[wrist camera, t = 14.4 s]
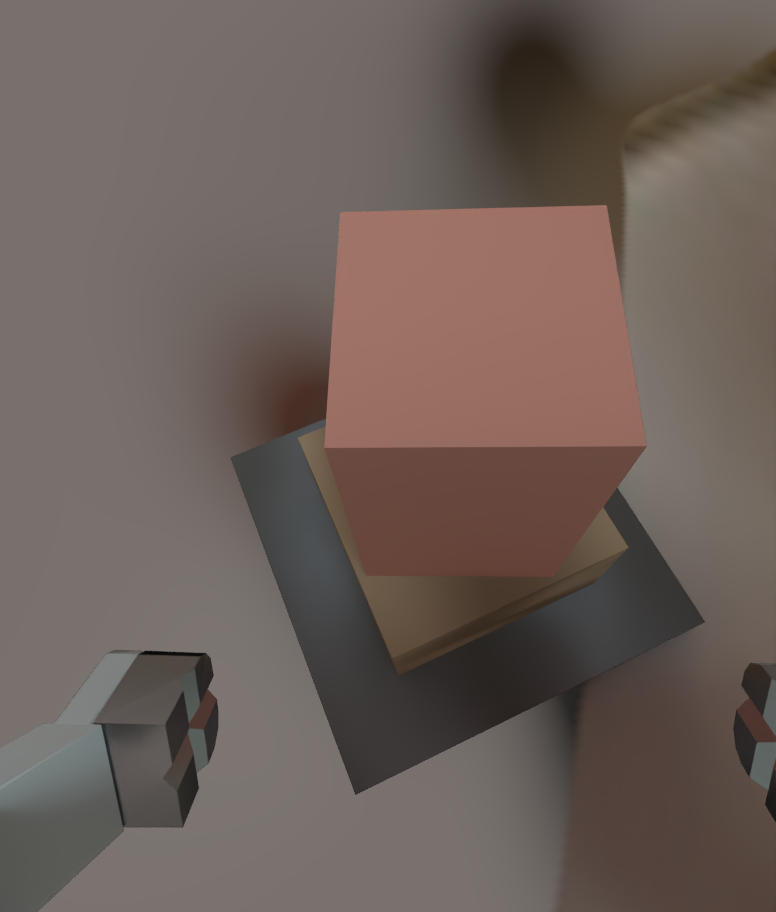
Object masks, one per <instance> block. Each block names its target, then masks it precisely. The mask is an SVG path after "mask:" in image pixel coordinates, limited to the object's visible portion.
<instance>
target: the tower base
mask: <svg viewBox="0 0 776 912" xmlns="http://www.w3.org/2000/svg"><path fill="white" fill-rule="evenodd" d="M325 429H326V419H323V420H321V421H318V422H316V423H313V424H311V425H308V426H306V427H304V428H301V429H299V430H296V431H294V432H292V433H289V434H287V435H284V436H282V437H280V438H277V439H274V440H272V441H270V442H267V443H265V444H262V445H260V446H258V447H255V448H252V449H250V450H248V451H246V452H243V453H241V454H238V455H236V456H233V457H231V460H232V463H233V465H234V468H235V471H236V473H237V476H238V479H239V482H240V484H241V487H242V490H243V493H244V495H245V498H246V500H247V503H248V506H249V509H250V512H251V514H252V517H253V519H254V522H255V525H256V528H257V530H258V533H259V536H260V538H261V541H262V544H263V547H264V549H265V552H266V555H267V557H268V560H269V563H270V565H271V568H272V571H273V574H274V576H275V579H276V582H277V584H278V587H279V590H280V592H281V595H282V598H283V600H284V603H285V605H286V608H287V611H288V614H289V617H290V619H291V622H292V625H293V627H294V630H295V632H296V635H297V638H298V641H299V644H300V646H301V649H302V652H303V654H304V657H305V660H306V662H307V665H308V668H309V671H310V673H311V676H312V679H313V681H314V684H315V687H316V689H317V692H318V695H319V697H320V700H321V703H322V705H323V708H324V711H325V713H326V716H327V719H328V721H329V724H330V727H331V730H332V733H333V735H334V738H335V741H336V743H337V746H338V749H339V751H340V754H341V757H342V759H343V762H344V764H345V767H346V770H347V773H348V775H349V778H350V781H351V783H352V786H353V789H354V792H355V794H358V793H360V792H362V791H364V790H366V789H368V788H370V787H372V786H374V785H376V784H378V783H380V782H382V781H384V780H386V779H388V778H390V777H392V776H394V775H397V774H398V773H401V772H402V771H405V770H406V769H409V768H411V767H413V766H414V765H417V764H419V763H421V762H423V761H425V760H427V759H429V758H431V757H433V756H435V755H437V754H439V753H441V752H443V751H445V750H447V749H449V748H451V747H453V746H455V745H457V744H459V743H461V742H463V741H465V740H467V739H469V738H471V737H473V736H475V735H477V734H479V733H482V732H484V731H486V730H488V729H490V728H492V727H494V726H496V725H498V724H500V723H502V722H504V721H506V720H508V719H510V718H512V717H514V716H516V715H518V714H520V713H522V712H524V711H526V710H528V709H530V708H532V707H534V706H536V705H538V704H540V703H542V702H544V701H546V700H548V699H550V698H552V697H554V696H556V695H558V694H560V693H562V692H564V691H566V690H569V689H570V688H573V687H575V686H576V685H579V684H581V683H583V682H585V681H587V680H589V679H591V678H593V677H595V676H597V675H599V674H601V673H603V672H605V671H607V670H609V669H611V668H613V667H615V666H617V665H619V664H621V663H623V662H625V661H627V660H629V659H631V658H633V657H635V656H637V655H639V654H641V653H643V652H646V651H648V650H650V649H652V648H654V647H656V646H658V645H660V644H662V643H664V642H666V641H668V640H670V639H672V638H674V637H676V636H678V635H680V634H682V633H684V632H686V631H688V630H690V629H692V628H694V627H696V626H698V625H700V624H702V623H704V622H705V621H704V620H703V618H702V617H701V615H700V614H699V612H698V611H697V609H696V607H695V606H694V604H693V603H692V601H691V600H690V598H689V597H688V595H687V594H686V592H685V591H684V589H683V588H682V586H681V585H680V583H679V581H678V580H677V578H676V577H675V575H674V574H673V572H672V571H671V569H670V568H669V566H668V565H667V563H666V562H665V560H664V559H663V557H662V555H661V554H660V552H659V551H658V549H657V548H656V546H655V545H654V543H653V542H652V540H651V539H650V537H649V536H648V534H647V533H646V531H645V529H644V528H643V526H642V525H641V523H640V522H639V520H638V519H637V517H636V516H635V514H634V513H633V511H632V510H631V508H630V507H629V505H628V503H627V502H626V500H625V499H624V497H623V496H622V494H621V493H620V491H619V490H618V488H616V490H615V491H614V493H613V494H612V495H611V497H610V498H609V500H608V501H607V502H606V504H605V505H604V507H603V508H602V509H601V511H600V512H599V514H598V515H597V516H596V518H595V519H594V521H593V522H592V523H591V525H590V526H589V528H588V529H587V530H586V532H585V533H584V535H583V536H582V537H581V539H580V540H579V542H578V543H577V544H576V546H575V547H574V549H573V550H572V551H571V553H570V554H569V556H568V557H567V558H566V560H565V561H564V563H563V564H562V565H561V567H560V568H559V570H558V571H557V572H556V574H555V575H554V577H496V576H366V573H365V570H364V567H363V564H362V561H361V558H360V555H359V552H358V549H357V545H356V542H355V539H354V536H353V533H352V530H351V527H350V524H349V521H348V518H347V515H346V512H345V509H344V506H343V503H342V500H341V497H340V494H339V491H338V488H337V485H336V482H335V479H334V476H333V473H332V470H331V467H330V464H329V461H328V458H327V455H326V452H325V449H324V443H325Z"/></svg>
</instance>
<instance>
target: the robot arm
mask: <svg viewBox="0 0 776 912" xmlns="http://www.w3.org/2000/svg"><path fill="white" fill-rule="evenodd" d="M212 678H213V670H212V664H211V658H210V657H209V656H208V655H207V654H206V653H188V652H164V651H144V652H143V651H127V650H114V651H111V652H109V653H107V654H106V655H105V656H104V657H103V658H102V660H101V661H100V662H99V664H98V665H97V666H96V668H95V669H94V671H93V672H92V673H91V675H90V676H89V677H88V679H87V680H86V681H85V683H84V684H83V685H82V687H81V688H80V689H79V691H78V692H77V693H76V695H75V696H74V697H73V699H72V700H71V701H70V703H69V704H68V706H67V707H66V708H65V709H64V711H63V712H62V713H61V715H60V716H59V717H58V719H57V720H56V722H55V723H44V724H42V725H40V726H39V727H37V728H35V729H34V730H32V731H30V732H28V733H26V734H25V735H23V736H21V737H19V738H18V739H16V740H14V741H13V742H11V743H9V744H7V745H5V746H4V747H2V748H0V912H38V911H39V910H40V909H41V908H42V907H43V906H44V905H45V904H46V903H47V902H48V901H50V900H51V899H52V898H53V897H54V896H55V895H56V894H57V893H58V892H59V891H60V890H61V889H62V888H63V887H64V886H66V885H67V884H68V883H69V882H70V881H71V880H72V879H73V878H74V877H75V876H76V875H77V874H78V873H79V872H80V871H81V870H83V869H84V868H85V867H86V866H87V865H88V864H89V863H90V862H91V861H92V860H93V859H94V858H95V857H96V856H97V855H99V854H100V853H101V852H102V851H103V850H104V849H105V848H106V847H107V846H108V845H109V844H110V843H111V842H112V841H113V840H114V839H116V838H117V837H118V836H119V835H120V834H121V833H122V832H123V830H124V829H123V827H183V825H184V823H185V821H186V818H187V816H188V813H189V811H190V808H191V806H192V803H193V801H194V799H195V796H196V794H197V791H198V788H199V786H198V780H197V772H198V771H199V770H201V769H202V768H203V767H205V766H206V765H207V764H208V763H209V761H210V758H211V755H212V753H213V750H214V747H215V742H216V736H217V731H218V705H217V699H216V698H215V697H214V696H213V695H212V694H211V692H210V691H209V690H207V689H208V687H209V684H210V682H211V680H212ZM742 687H743V688H744V690H745V691H746V693H747V694H748V696H749V697H750V698H749V699H748V700H747V701H746V702H745V703H743V704H742V705H741V706H740V707H739V708H738V709H737V710H736V716H735V722H734V737H735V745H736V750H737V753H738V755H739V758H740V761H741V764H742V765H743V767H744V769H745V771H746V772H747V774H748V776H749V778H751V779H752V780H753V781H755V782H756V783H758V784H759V785H760V786H762V787H763V788H765V789H766V790H768V794H767V798H766V803H765V805H766V807H767V808H768V810H769V812H770V813H771V815H772V817H773V818H774V820H775V822H776V663H750V664H749V666H748V667H747V669H746V670H745V672H744V677H743V681H742Z"/></svg>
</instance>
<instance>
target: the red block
mask: <svg viewBox="0 0 776 912" xmlns="http://www.w3.org/2000/svg"><path fill="white" fill-rule="evenodd" d="M333 313H334V314H333V327H332V342H331V356H330V371H329V386H328V400H327V414H326V415H327V416H326V429H325V443H324V449H325V452H326V455H327V458H328V461H329V464H330V467H331V470H332V473H333V476H334V479H335V482H336V485H337V488H338V491H339V494H340V497H341V500H342V503H343V506H344V509H345V512H346V515H347V518H348V521H349V524H350V527H351V530H352V533H353V536H354V539H355V542H356V545H357V549H358V552H359V555H360V558H361V561H362V564H363V567H364V570H365V573H366V576H496V577H554V575H555V574H556V572H557V571H558V570H559V568H560V567H561V565H562V564H563V563H564V561H565V560H566V558H567V557H568V556H569V554H570V553H571V551H572V550H573V549H574V547H575V546H576V544H577V543H578V542H579V540H580V539H581V537H582V536H583V535H584V533H585V532H586V530H587V529H588V528H589V526H590V525H591V523H592V522H593V521H594V519H595V518H596V516H597V515H598V514H599V512H600V511H601V509H602V508H603V507H604V505H605V504H606V502H607V501H608V500H609V498H610V497H611V495H612V494H613V493H614V491H615V490H616V488H617V487H618V486H619V484H620V483H621V481H622V480H623V479H624V477H625V476H626V474H627V473H628V472H629V470H630V469H631V467H632V466H633V465H634V463H635V462H636V460H637V459H638V458H639V456H640V455H641V453H642V452H643V451H644V449H645V448H646V440H645V434H644V428H643V422H642V416H641V410H640V404H639V398H638V392H637V386H636V380H635V374H634V368H633V362H632V356H631V349H630V343H629V337H628V331H627V325H626V319H625V313H624V307H623V301H622V295H621V289H620V283H619V277H618V271H617V265H616V260H615V253H614V247H613V242H612V235H611V229H610V223H609V217H608V211H607V206H606V205H596V206H560V207H520V208H484V209H482V208H481V209H443V210H405V211H367V212H340V225H339V240H338V255H337V269H336V283H335V298H334V312H333Z"/></svg>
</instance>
